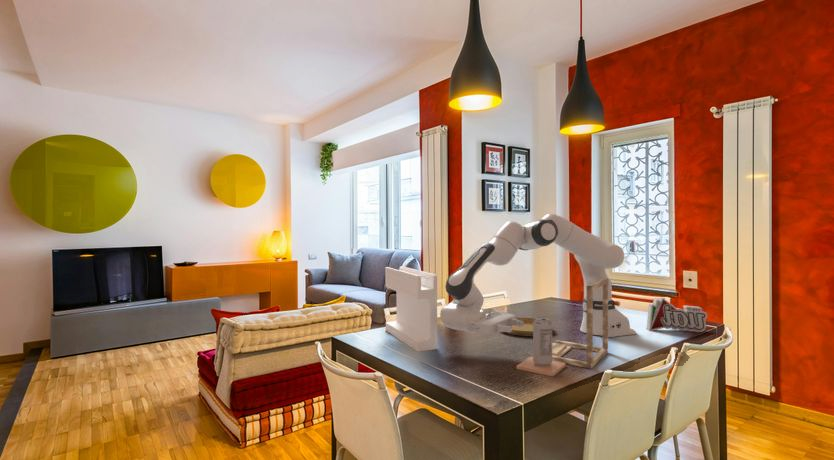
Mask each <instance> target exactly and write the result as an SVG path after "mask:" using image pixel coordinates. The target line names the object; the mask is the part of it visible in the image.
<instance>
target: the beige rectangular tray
mask: <svg viewBox="0 0 834 460" xmlns="http://www.w3.org/2000/svg"><path fill="white" fill-rule="evenodd" d="M571 349H572V347H570V346H566V345H564V344H557V343H556V342H552V356H558V357H563V355H565V354H566V353H567V352H568V351H570V350H571Z"/></svg>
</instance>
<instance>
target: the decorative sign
mask: <svg viewBox="0 0 834 460" xmlns="http://www.w3.org/2000/svg"><path fill="white" fill-rule="evenodd" d="M682 307H683V309H682V308H678V307H675V305H673V304H672V303H670V301H668V300H667V299H665V298H664V297H661V296H659V298H658V299H657V298H654V299H653V301H652V303H651V302H650V303H648V310H647V318H646V319H647V320H646V321H647V322H646V331H649V332H652V331H657V330H662V329H666V330H669V329H670V330H671V329H672V330H679V331H688V332H697V333H702V332H704V331H705V330H706V329H707V323H706V319H707V318H708V314H707V312H705V311H703V308H702V307H700V306H693V305H683V306H682Z"/></svg>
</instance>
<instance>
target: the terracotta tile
mask: <svg viewBox="0 0 834 460" xmlns="http://www.w3.org/2000/svg"><path fill="white" fill-rule="evenodd" d="M566 365H567V364H566V363H562V362H557V361H552V363H551V364H550V366H548V367H541V366H537V365H535V363H534V362H533V356H530V357H528V358H527V359H525V360H523V361H521V362H520V363H518V364H517V365H515V366H516V369H517V370H520V371H525V372H530V373H535V374H539V375H544V376H547V377H548V376H549V377H554V376H556V375H557V374H558V373H559V372H560V371H562V370H563V369H564V368H566Z"/></svg>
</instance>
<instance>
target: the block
mask: <svg viewBox="0 0 834 460" xmlns="http://www.w3.org/2000/svg"><path fill="white" fill-rule="evenodd" d="M384 268H385V271H384V275H385V279H384V281H385V286H384V287H385V288H386V289H390V290H392V291H394V292H396V293H395V294H396V318H395V320H394V321H386V322H385V331H386V332H387V333H389V334H390V335H392V336H393V337H395V338H396V339H398V340H400V341H401V342H403V343H404V344H405V345H408V346H409V347H410V348H411V349H413V350H415V351H416V352H424V351H431V350H432V351H433V350H437V349H438V274H434V273H431V272H427V271H423V270H419V269H415V268H410V267H408V266H403V265H402V266H401V265H400V267H399V268H398V269H397V268H396V269H395V268H393V267H390V266H385V267H384ZM386 327H387V328H386Z"/></svg>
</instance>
